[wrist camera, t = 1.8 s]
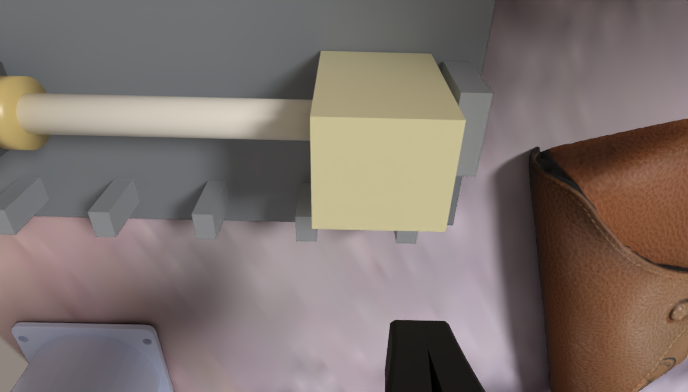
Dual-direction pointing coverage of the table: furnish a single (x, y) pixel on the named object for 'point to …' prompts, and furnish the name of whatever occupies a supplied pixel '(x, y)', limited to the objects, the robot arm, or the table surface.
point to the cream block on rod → (383, 142)
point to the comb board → (199, 102)
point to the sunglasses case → (613, 257)
